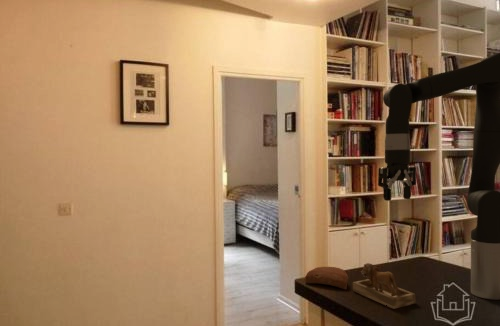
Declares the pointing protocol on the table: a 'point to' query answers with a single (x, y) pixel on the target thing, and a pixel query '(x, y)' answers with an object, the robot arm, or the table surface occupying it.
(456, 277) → the table surface
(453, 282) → the table surface
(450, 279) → the table surface
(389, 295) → the rectangular tray
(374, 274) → the lion figurine
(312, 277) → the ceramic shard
